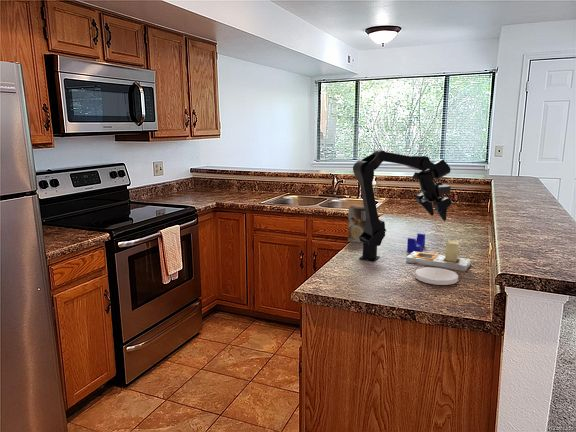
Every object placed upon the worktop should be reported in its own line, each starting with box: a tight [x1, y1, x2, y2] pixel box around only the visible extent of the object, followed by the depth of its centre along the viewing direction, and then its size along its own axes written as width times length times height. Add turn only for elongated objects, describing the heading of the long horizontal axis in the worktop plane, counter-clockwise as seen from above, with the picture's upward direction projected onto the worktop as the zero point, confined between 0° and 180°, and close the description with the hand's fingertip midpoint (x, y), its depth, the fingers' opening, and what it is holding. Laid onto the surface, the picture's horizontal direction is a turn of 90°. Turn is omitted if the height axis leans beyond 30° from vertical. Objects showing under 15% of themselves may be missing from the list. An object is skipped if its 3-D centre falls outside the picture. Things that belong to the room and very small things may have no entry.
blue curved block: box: [406, 232, 426, 253], centre depth 187 cm, size 12×4×6 cm, turn 141°
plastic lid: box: [414, 266, 459, 286], centre depth 149 cm, size 14×14×2 cm
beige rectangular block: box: [444, 240, 460, 263], centre depth 164 cm, size 4×4×9 cm
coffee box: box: [347, 205, 366, 244], centre depth 201 cm, size 9×6×16 cm
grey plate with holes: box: [405, 251, 472, 272], centre depth 168 cm, size 10×22×2 cm, turn 58°
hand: (438, 217), depth 180 cm, fingers open, 9 cm apart
